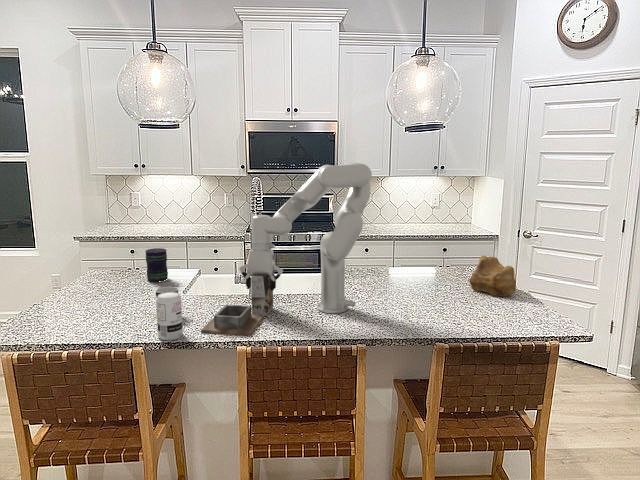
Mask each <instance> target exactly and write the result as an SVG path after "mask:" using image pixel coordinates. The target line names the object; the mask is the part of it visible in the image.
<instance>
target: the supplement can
mask: <svg viewBox="0 0 640 480" xmlns="http://www.w3.org/2000/svg"><path fill="white" fill-rule="evenodd" d="M155 302H156V304H155V306H156V321H157V323H156V325H157V337H158V338H159V339H160V340H163V341H174V340H178V339H179V338H181V337H182V336H183V335H184V331H183V330H184V329H183V311H182V310H183V309H182V297H181V296H180V293H179V292H178V293H176V292H165V293H161V294H159V295H158V297H156V299H155Z"/></svg>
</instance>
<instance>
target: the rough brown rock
mask: <svg viewBox="0 0 640 480" xmlns="http://www.w3.org/2000/svg"><path fill="white" fill-rule="evenodd" d="M515 275H516V274H515V268H514V267H513V266H512V265H505V266H504V265H502V263H500V261H499V259H498V258H497V257H495V256H491V255H490V256H487V255H482V256H480V257H479V261H478V265H477V266H476V268H475V270H474V271H473V272H472V274H471V276H470V277H469V279H468V280H469V284H470V287H471V289H472V290H473V291H476V292H485V293H488V294H490V295H491V296H494V297H496V298H499V297H507V296H511V295H513V294H514V293H516V288H517V282H516V278H515V277H516V276H515Z"/></svg>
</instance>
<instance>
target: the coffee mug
mask: <svg viewBox="0 0 640 480" xmlns="http://www.w3.org/2000/svg"><path fill="white" fill-rule="evenodd" d="M179 290H180V289H179V288H178V287H176V286H164V287H159V288H156V289H155V290H154V291H155V296H156V298H157V297H158V295H159V294H161V293H165V292H176V293H179Z"/></svg>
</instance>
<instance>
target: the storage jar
mask: <svg viewBox="0 0 640 480" xmlns="http://www.w3.org/2000/svg"><path fill="white" fill-rule="evenodd" d="M167 261H168V254H167V249H166V248H161V247H160V248H155V247H154V248H150V249H149V248H148V249H146V250H145V262H146V278H147V282H148V281H150V282H149V283H151V282H158V283H160V282H159V281H164V280H166V279H167V278H168V277H169V276H168V275H169V272H168V265H167V264H168V263H167ZM168 279H169V278H168ZM164 282H165V281H164Z"/></svg>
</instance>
